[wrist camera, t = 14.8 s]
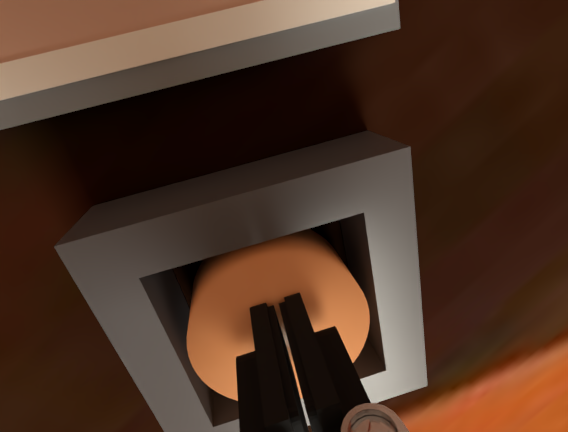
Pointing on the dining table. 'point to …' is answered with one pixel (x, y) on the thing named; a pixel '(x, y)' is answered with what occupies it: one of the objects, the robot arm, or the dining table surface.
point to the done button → (269, 301)
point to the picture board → (157, 45)
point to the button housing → (245, 232)
